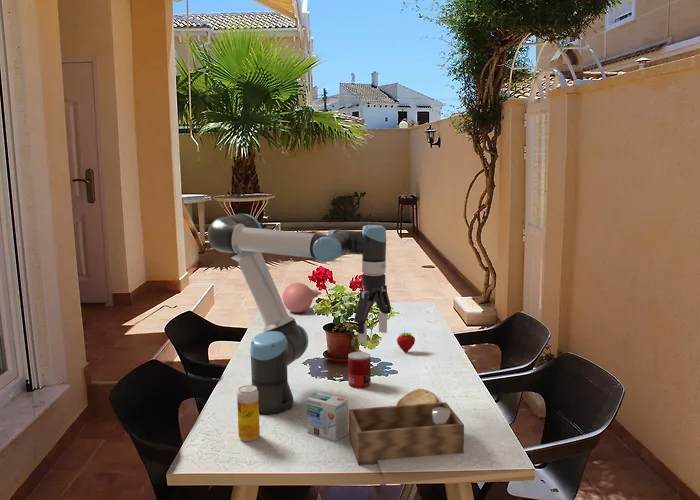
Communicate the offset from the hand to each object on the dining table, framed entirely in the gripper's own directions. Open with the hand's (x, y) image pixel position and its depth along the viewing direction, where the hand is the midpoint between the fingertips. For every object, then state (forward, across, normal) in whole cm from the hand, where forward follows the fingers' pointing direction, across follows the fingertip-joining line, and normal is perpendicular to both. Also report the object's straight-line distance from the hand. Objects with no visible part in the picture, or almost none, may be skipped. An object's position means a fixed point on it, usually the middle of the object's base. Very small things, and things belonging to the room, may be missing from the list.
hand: (372, 337), depth 209 cm
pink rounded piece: (+24, +86, +89) cm, 126 cm away
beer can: (+23, -41, +18) cm, 50 cm away
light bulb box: (+22, -27, 0) cm, 35 cm away
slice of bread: (+22, +4, -14) cm, 27 cm away
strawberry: (+22, +52, +13) cm, 58 cm away
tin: (+20, -17, -32) cm, 42 cm away
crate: (+22, -24, -24) cm, 40 cm away
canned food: (+22, +11, +12) cm, 28 cm away
